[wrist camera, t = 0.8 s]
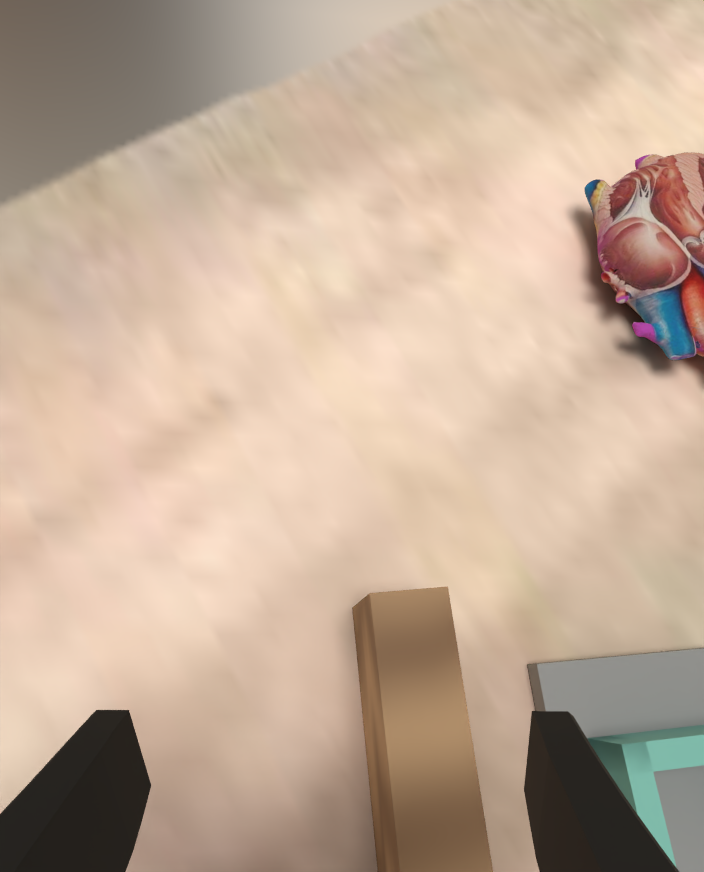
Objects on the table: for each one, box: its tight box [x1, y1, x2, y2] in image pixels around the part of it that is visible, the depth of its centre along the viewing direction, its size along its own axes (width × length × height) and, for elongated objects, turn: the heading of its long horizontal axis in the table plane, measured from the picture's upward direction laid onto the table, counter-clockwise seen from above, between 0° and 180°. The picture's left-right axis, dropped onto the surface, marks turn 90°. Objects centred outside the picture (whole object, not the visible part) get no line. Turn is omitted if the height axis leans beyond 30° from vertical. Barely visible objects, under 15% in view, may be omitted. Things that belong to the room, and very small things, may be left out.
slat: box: [352, 587, 493, 872], centre depth 21 cm, size 16×3×5 cm, turn 6°
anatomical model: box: [585, 153, 704, 360], centre depth 34 cm, size 11×6×15 cm
